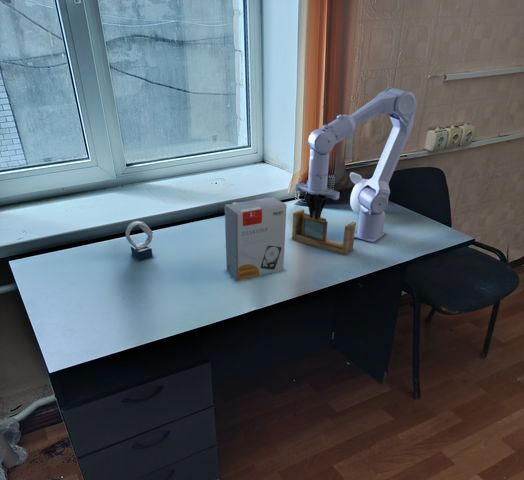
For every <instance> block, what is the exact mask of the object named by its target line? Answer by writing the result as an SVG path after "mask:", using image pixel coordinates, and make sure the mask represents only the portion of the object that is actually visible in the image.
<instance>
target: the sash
mask: <svg viewBox="0 0 524 480" xmlns="http://www.w3.org/2000/svg"><path fill="white" fill-rule="evenodd" d="M328 224H329V222H328V221H327V220H326V221H323V220H319V219H315V211H313V214H312V218H310V217H308V216H303V224H302V236H305V237H308V238H312V239H315V240H319V241H323V242H326V239H327V235H328V234H327V233H328Z"/></svg>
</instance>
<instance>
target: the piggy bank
mask: <svg viewBox="0 0 524 480" xmlns="http://www.w3.org/2000/svg"><path fill="white" fill-rule="evenodd" d="M349 179H350V181H351V182H352V183H353V184H354V186H353V188H352V191H351V193H350V198H349V204H350V208H351V210H352V211H353V212H354V213H356V214H357V215H359V214H360V203H359V201H358V193H359V191H360V190H361V189H362V188H363V187H364V185H365V183H366V181H367V180H369V179H370V178H363V177H362V175H360V174H359V173H356V172H353V171H351V172H350V173H349Z"/></svg>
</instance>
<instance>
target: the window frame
mask: <svg viewBox="0 0 524 480" xmlns="http://www.w3.org/2000/svg"><path fill="white" fill-rule="evenodd" d="M303 216H308V217H310V213H306V212H305V209H304V208H301V209H298V210H296V211H295V212H293V213H292V229H291V230H292V232H291V240H292V241H295V242H299V243H302V244H306V245H308V246H313V247H316V248H320V249H323V250H325V251H326V250H327V251H330V252H333V253H337V254H341V255H343V256H346V255H348V254H349V253H350V252H351V251H353V249H354V242H355V238H354V235H355V233H356V225H357V222H356V221H355V222H354V221H352V222H350V223H348V224H347V225H345V226H344V233H343V240H342V242H339V241H336V240H333V239H328V238H326V242H323V241H319V240H315V239H312V238H308V237H305V236H302V224H303ZM318 219H319V220H323V221H327V218H326V217H322V216H320V218H318Z"/></svg>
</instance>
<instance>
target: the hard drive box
mask: <svg viewBox="0 0 524 480" xmlns="http://www.w3.org/2000/svg"><path fill="white" fill-rule="evenodd" d="M286 222H287V204H286V203H285V202H283V201H281V200H279V199H278V198H276V197H274V196H272V197H265V198H259V199H252V200H247V201H240V202H239V201H238V202H233V203H228V204H224V228H225V229H224V231H225V258H226V259H225V260H226V261H225V262H226V264H225V265H226V268H225V269H226V272H227V273H228V274H229V275H230V276H231V277H232V278H234V280H235V281H236V282H238V281H241V280H249V279H252V278H256V277H260V276H265V275H269V274H270V275H272V274H275V273H278V272H283V271H284V263H285V244H286V226H287V225H286V224H287V223H286Z"/></svg>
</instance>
